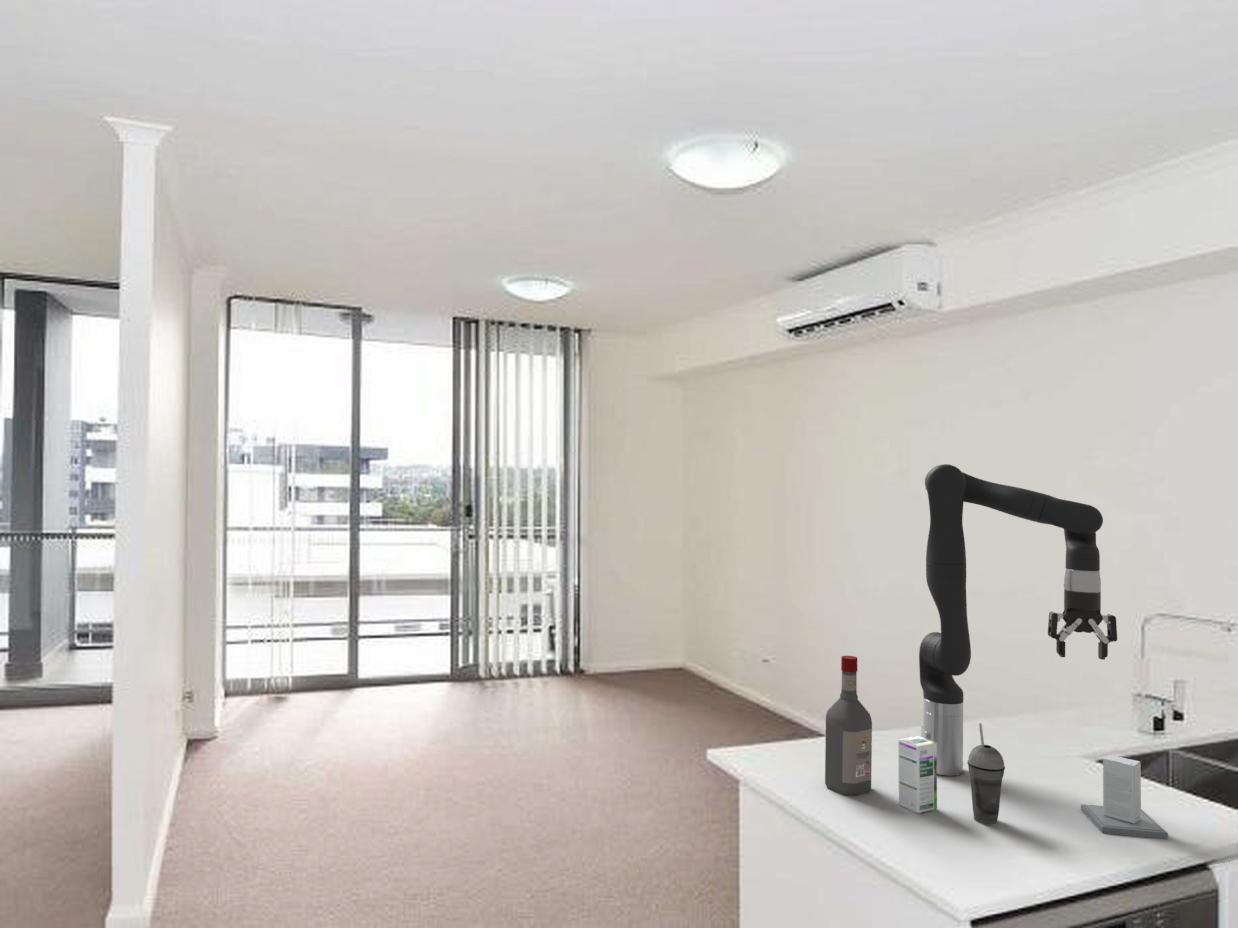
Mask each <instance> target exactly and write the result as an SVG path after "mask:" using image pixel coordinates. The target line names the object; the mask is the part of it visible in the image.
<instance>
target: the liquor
mask: <svg viewBox="0 0 1238 928" xmlns="http://www.w3.org/2000/svg"><path fill="white" fill-rule="evenodd" d="M840 670H841V690H840V694H839V698H838V699H837V700H836V701H835V702H834V703H833V704H832V705H831V706H830V707H829V708H828V709H827V711H826V714H825V751H824V753H825V754H824V755H825V760H824V761H825V762H824V763H825V765H824V766H825V767H824V768H825V770H824V772H825V773H824V784H825V786H826V788H827V789H830V790H832V791H833V792H836V793H839V794H840V795H843V796H853V797H854V796H859V795H863V794H866V793H870V791H871V790H872V763H873V762H872V757H873V756H872V755H873V754H872V751H873V748H872V747H873V744H872V743H873V742H872V741H873V721H872V720H873V719H872V717H871V714H870V712H869V711H868V709H867V708H866V707H865V706H864V705H863V704H862V702H861V701H860V700H859V699H858V698H859V696H858V694H857V693H858V691H857V688H858V687H857V686H858V685H857V684H858V683H857V677H858V676H857V673H858V657H857V656H854V655H841V661H840Z"/></svg>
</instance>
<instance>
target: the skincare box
mask: <svg viewBox="0 0 1238 928" xmlns="http://www.w3.org/2000/svg"><path fill="white" fill-rule="evenodd" d="M1141 768H1142V767H1141V761H1140V760H1135V759H1129V758H1125V757H1122V756H1117V755H1113V754H1109V755H1107V756H1105V757H1103V758H1102V770H1103V771H1102V782H1103V783H1102V790H1103V791H1102V793H1103V794H1102V798H1103V799H1102V804H1103V805H1102V806H1103V815H1104V816H1108V817H1111V818H1115V819H1119V820H1122V821H1126V822H1130V823H1133V824H1135V823H1136V822H1138V821H1139V820H1140V819H1141V809H1142V789H1141V788H1142V787H1141V786H1142V785H1141V784H1142V781H1141V780H1142V779H1141V777H1142V775H1141V773H1142V772H1141Z"/></svg>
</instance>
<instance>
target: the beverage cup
mask: <svg viewBox="0 0 1238 928" xmlns="http://www.w3.org/2000/svg"><path fill="white" fill-rule="evenodd" d="M978 726H979V734H980V736H979V737H980V742H981V743H980V744H979V745H977V746H975V747H974V748H972V749H971V751H970V752H969V754H968V760H967V763H966V764H967V765H968V773H969V776H970V779H969V780H970V787H971V788H970V789H971V790H970V791H971V801H972V813H973V820H974V821H975V822H977V823H980V824H982V825H989V826H991V825H992V826H993V825H997V824H998V818H999V814H1000V813H999V812H1000V802H1001V793H1002V785H1003V784H1002V783H1003V778H1004V774H1005V770H1006V767H1005V762H1004V758H1003V756H1002V754H1001V753H1000V751H998V750H997V748H995V747H993V746H992V745H989V744H985V741H984V733H983V725H982V722H981V723H979V724H978Z"/></svg>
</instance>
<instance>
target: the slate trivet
mask: <svg viewBox="0 0 1238 928" xmlns="http://www.w3.org/2000/svg"><path fill="white" fill-rule="evenodd" d="M1080 811H1081V812H1082V813H1083V814H1084V815H1085V816H1086V817H1087V818H1088V819H1089V821H1091V823H1093V825H1094V826H1095V827H1096V828H1097V829H1098V830H1099V831H1100V832H1101V833H1102V834H1108V835H1109V834H1110V835H1121V836H1131V837H1142V838H1154V839H1165V840H1168V837H1169V833H1168V831H1166V830H1165V829H1164V828H1163V827H1162V826H1161V825H1160V824H1158V823H1157V822H1156V820H1154V819H1153V818H1152V817H1151V816H1149V815H1148V814H1147V813H1146V812H1145V811H1144V810H1143V809H1142V808H1141V819H1140V820H1139V821H1138V822H1136V823H1135V824H1133V823H1130V822H1126V821H1122V820H1119V819H1115V818H1111V817H1108V816H1104V815H1103V805H1094V804H1086V803H1085V804H1083V803H1081V804H1080Z"/></svg>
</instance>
